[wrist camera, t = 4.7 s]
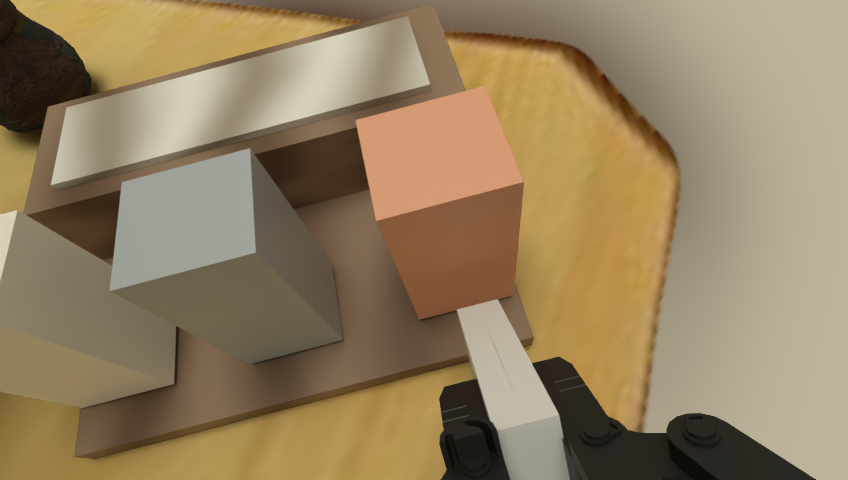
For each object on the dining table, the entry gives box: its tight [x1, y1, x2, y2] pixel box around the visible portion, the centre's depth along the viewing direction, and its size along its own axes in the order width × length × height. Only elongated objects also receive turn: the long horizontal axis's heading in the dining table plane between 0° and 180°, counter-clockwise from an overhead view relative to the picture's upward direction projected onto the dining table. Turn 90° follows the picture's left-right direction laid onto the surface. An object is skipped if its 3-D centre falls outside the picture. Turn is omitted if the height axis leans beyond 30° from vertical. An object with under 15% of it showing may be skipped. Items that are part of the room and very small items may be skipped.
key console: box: [23, 4, 534, 459], centre depth 23 cm, size 21×17×6 cm
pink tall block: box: [356, 86, 524, 320], centre depth 19 cm, size 4×4×9 cm
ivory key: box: [0, 210, 176, 408], centre depth 19 cm, size 4×4×9 cm
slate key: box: [110, 148, 343, 364], centre depth 19 cm, size 4×4×9 cm
